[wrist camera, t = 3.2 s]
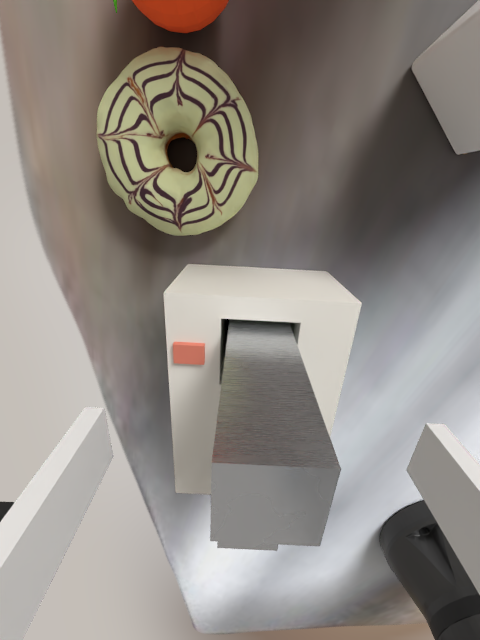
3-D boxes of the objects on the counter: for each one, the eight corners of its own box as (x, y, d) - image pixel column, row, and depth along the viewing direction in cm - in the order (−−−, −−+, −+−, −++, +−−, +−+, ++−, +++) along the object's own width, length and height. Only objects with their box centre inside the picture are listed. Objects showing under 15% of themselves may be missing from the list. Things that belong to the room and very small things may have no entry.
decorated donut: (180, 256, 24) (169, 266, 21) (85, 138, 21) (54, 127, 18) (282, 176, 22) (289, 172, 18) (193, 27, 18) (181, -12, 15)
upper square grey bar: (274, 333, 26) (319, 546, 10) (231, 331, 26) (210, 541, 10) (278, 292, 25) (341, 469, 9) (233, 290, 25) (211, 462, 9)
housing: (326, 271, 24) (364, 305, 17) (298, 429, 32) (316, 504, 24) (188, 263, 24) (161, 294, 17) (191, 424, 32) (174, 497, 24)
